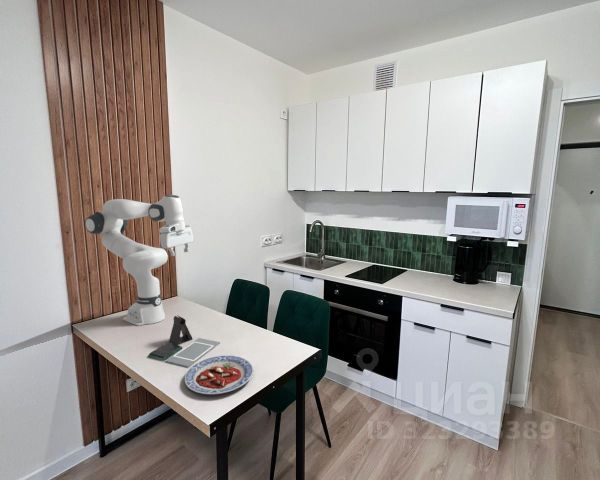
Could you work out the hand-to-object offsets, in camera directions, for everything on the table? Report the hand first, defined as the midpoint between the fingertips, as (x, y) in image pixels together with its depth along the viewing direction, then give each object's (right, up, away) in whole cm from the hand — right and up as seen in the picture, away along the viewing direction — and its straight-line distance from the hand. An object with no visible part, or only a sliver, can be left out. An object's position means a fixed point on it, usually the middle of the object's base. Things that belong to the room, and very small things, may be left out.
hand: (180, 253), depth 168 cm
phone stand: (+4, -41, -10) cm, 43 cm away
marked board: (+14, -43, -21) cm, 50 cm away
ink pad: (+1, -43, -21) cm, 48 cm away
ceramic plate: (+30, -47, -40) cm, 68 cm away
